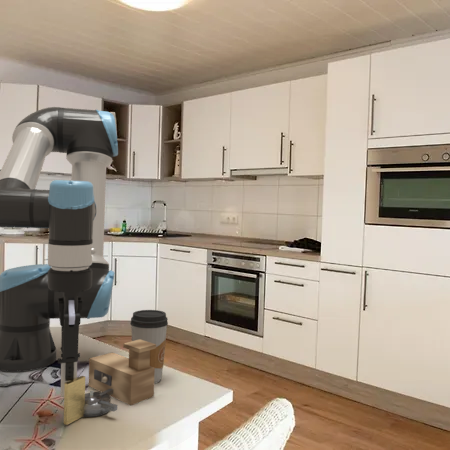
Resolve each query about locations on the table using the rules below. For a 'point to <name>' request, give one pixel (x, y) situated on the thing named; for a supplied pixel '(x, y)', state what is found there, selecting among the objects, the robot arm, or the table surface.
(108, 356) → the wooden drawer box
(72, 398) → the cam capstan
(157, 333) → the coffee cup
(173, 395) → the table surface
